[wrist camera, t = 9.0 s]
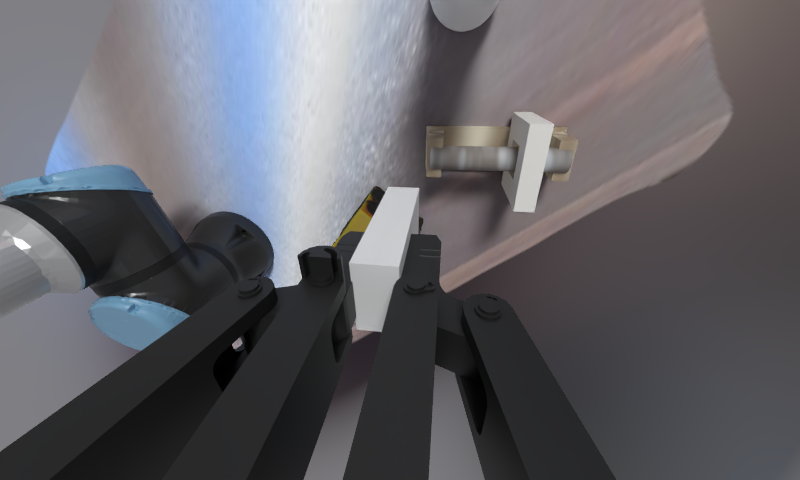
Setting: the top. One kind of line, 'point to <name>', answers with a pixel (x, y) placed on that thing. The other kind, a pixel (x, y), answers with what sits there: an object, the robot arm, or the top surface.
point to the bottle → (463, 13)
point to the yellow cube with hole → (366, 214)
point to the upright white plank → (527, 159)
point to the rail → (489, 141)
